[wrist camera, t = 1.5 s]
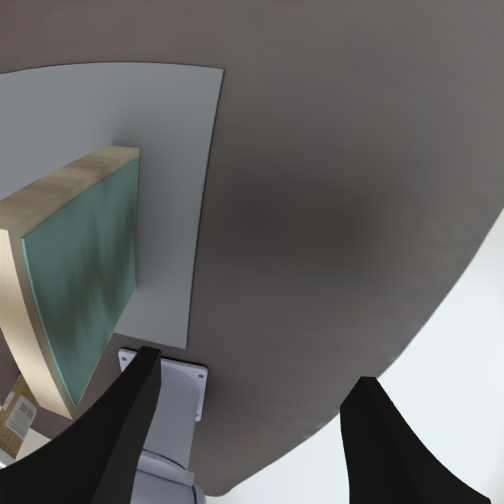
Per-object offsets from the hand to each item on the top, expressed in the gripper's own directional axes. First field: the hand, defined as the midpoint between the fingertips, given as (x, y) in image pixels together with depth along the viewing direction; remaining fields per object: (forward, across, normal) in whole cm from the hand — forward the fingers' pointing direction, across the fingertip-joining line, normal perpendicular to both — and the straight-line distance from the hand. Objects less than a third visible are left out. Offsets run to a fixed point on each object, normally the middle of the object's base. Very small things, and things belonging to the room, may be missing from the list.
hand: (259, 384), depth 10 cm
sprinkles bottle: (+11, +25, +26) cm, 38 cm away
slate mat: (+10, +15, 0) cm, 18 cm away
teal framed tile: (+10, +9, 0) cm, 13 cm away
